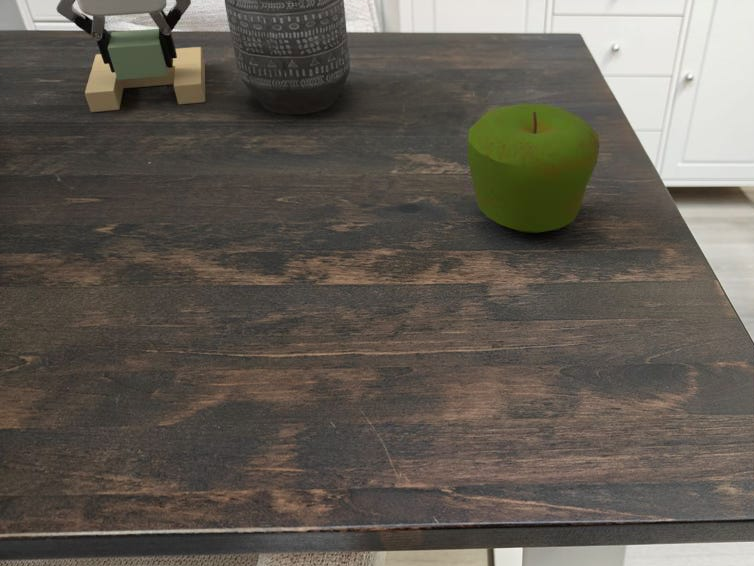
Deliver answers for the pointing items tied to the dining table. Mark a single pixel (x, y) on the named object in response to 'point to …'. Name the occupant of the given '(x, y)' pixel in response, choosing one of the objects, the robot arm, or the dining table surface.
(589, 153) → the apple
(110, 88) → the u-shaped wooden block
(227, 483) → the dining table surface
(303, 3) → the planter
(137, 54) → the sage green rounded cube
